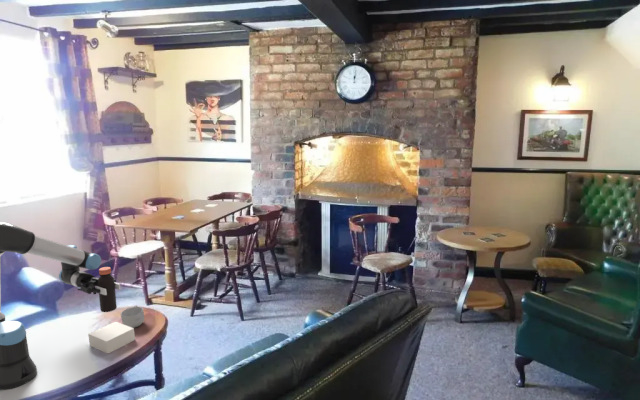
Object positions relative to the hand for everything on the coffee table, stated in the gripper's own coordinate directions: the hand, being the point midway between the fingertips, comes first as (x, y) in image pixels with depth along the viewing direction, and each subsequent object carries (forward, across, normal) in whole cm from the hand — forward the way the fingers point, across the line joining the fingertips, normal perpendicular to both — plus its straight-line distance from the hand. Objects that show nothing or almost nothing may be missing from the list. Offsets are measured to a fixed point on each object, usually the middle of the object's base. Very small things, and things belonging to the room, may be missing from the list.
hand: (112, 289), depth 196 cm
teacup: (-12, -17, -28) cm, 35 cm away
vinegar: (-5, 0, -11) cm, 12 cm away
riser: (-5, 0, -28) cm, 28 cm away
